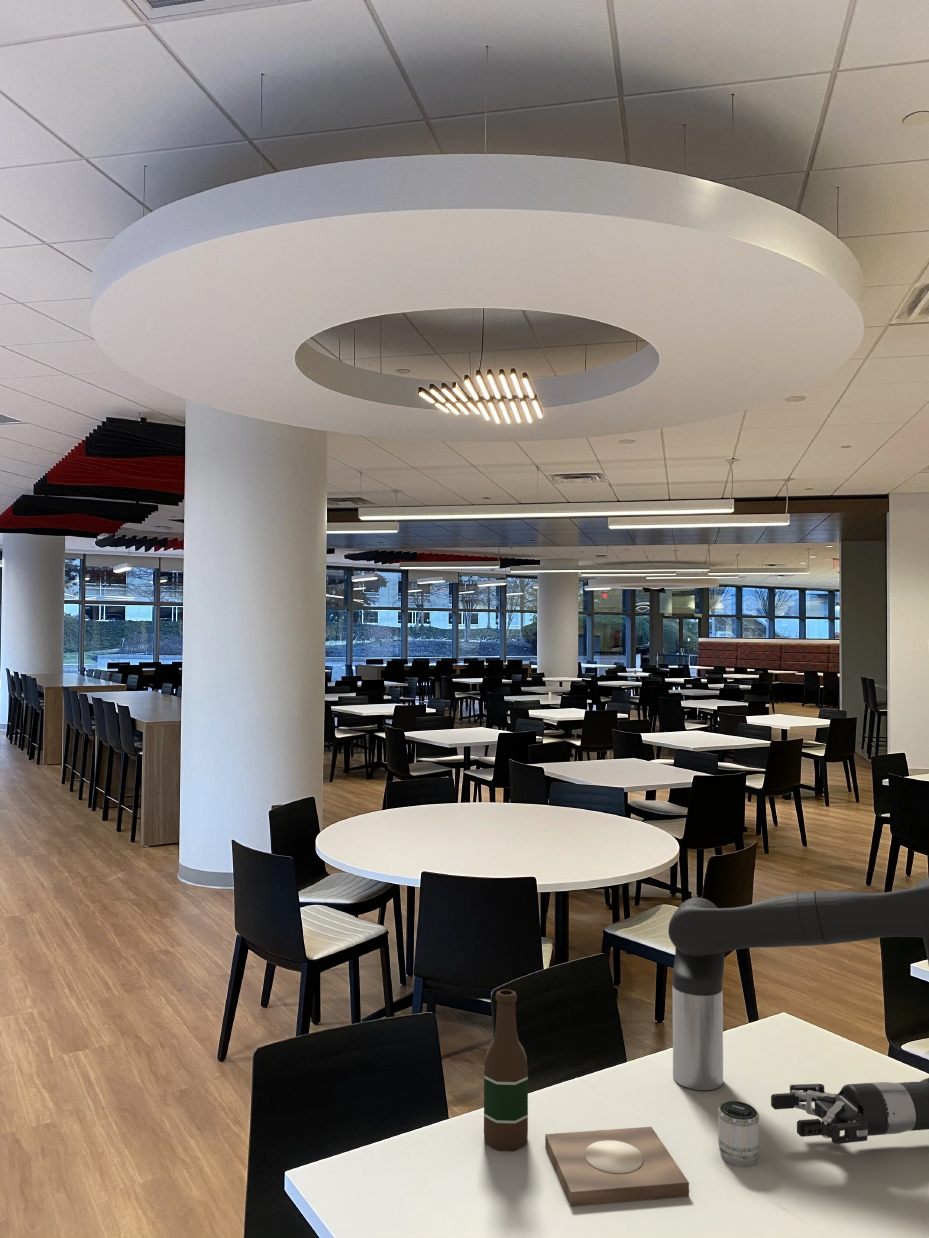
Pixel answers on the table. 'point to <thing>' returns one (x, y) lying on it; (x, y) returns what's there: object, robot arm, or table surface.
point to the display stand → (615, 1166)
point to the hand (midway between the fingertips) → (784, 1114)
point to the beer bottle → (505, 1081)
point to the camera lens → (738, 1133)
